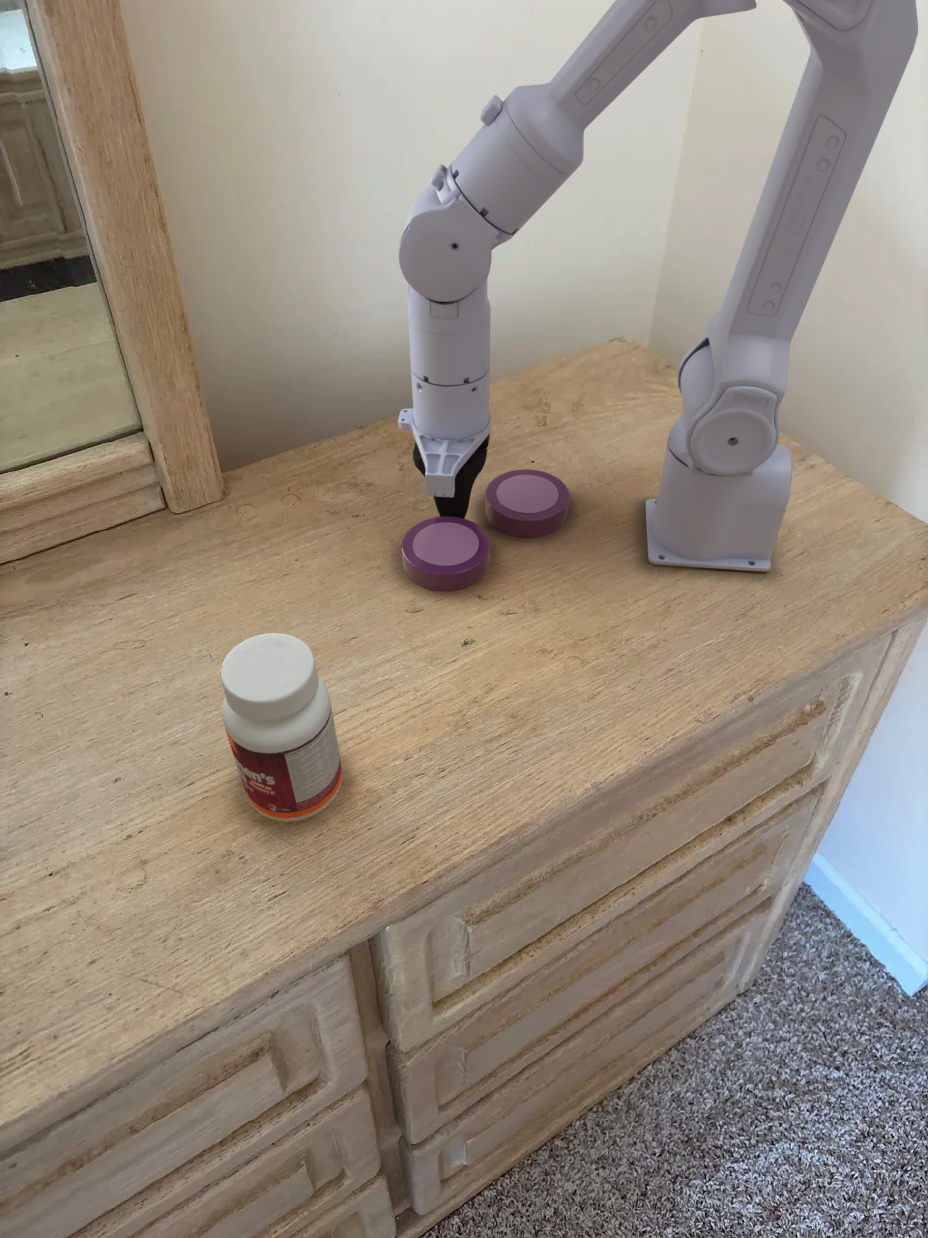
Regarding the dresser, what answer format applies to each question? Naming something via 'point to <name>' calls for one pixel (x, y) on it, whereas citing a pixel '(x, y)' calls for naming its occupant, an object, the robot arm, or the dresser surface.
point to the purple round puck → (527, 503)
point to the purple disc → (446, 553)
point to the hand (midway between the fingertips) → (453, 513)
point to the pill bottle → (280, 727)
